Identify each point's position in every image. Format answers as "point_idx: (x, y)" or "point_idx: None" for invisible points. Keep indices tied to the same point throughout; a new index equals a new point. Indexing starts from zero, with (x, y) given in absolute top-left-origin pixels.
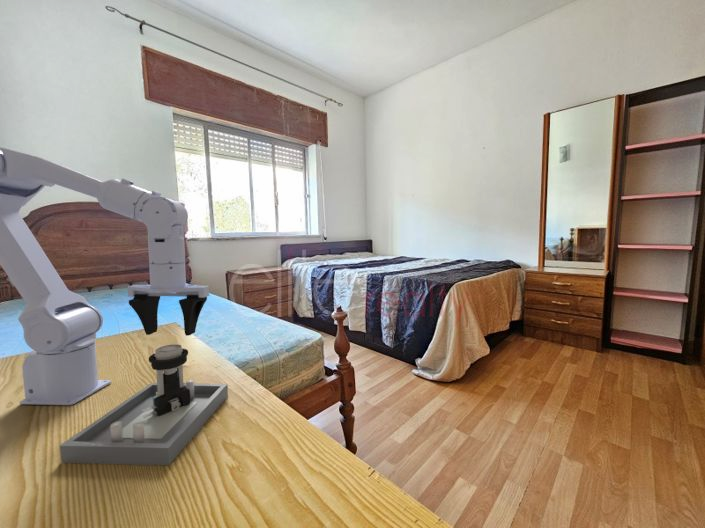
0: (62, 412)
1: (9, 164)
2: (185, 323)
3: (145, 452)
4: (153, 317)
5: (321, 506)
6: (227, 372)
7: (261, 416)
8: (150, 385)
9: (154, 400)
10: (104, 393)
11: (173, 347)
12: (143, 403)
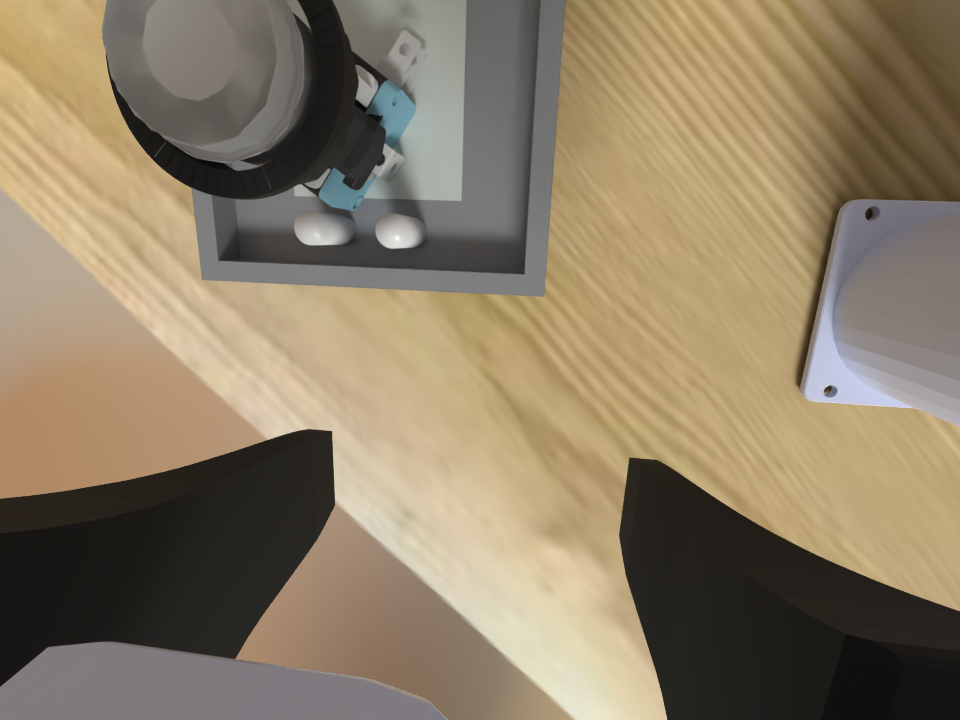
0: (843, 154)
1: None
2: (256, 457)
3: None
4: (661, 614)
5: None
6: (337, 466)
7: (53, 138)
8: (531, 268)
9: (384, 76)
10: (766, 307)
11: (169, 73)
12: (512, 188)
